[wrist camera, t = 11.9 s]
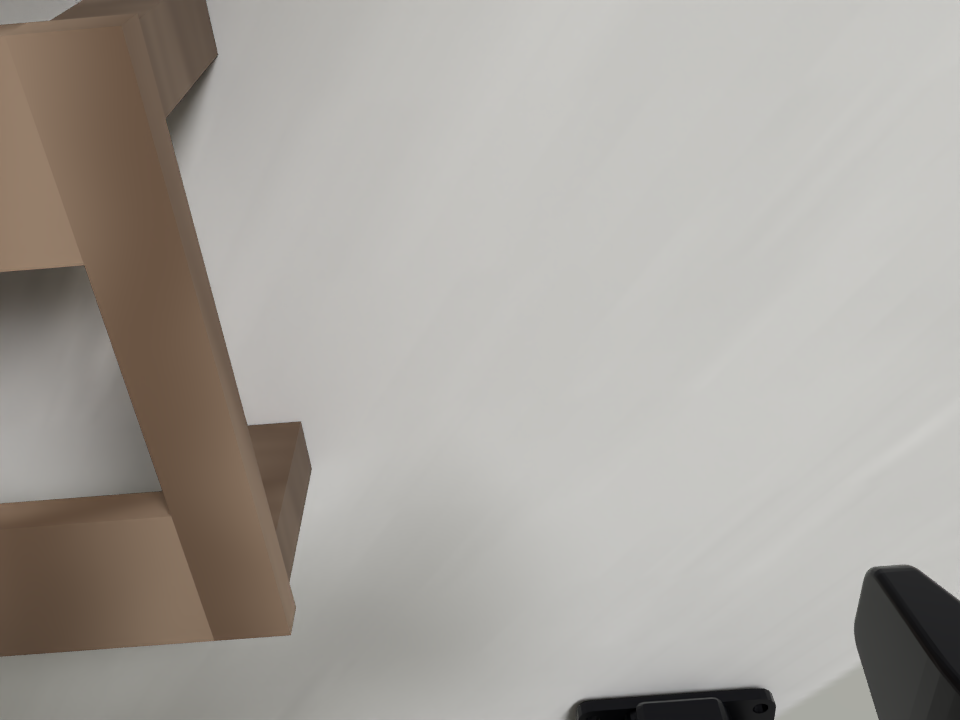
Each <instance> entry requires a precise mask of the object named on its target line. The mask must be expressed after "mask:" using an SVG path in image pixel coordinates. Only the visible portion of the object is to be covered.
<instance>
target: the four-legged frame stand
mask: <svg viewBox="0 0 960 720" xmlns="http://www.w3.org/2000/svg"><path fill="white" fill-rule="evenodd" d="M217 55H218V53H217V48H216V44H215V39H214V35H213V31H212V26H211V22H210V17H209V13H208V8H207V4H206V0H82V1H81V2H79V3H78V4H76V5H74V6H73V7H71V8H70V9H68V10H66V11H65V12H63V13H62V14H60V15H58V16H57V17H55V18H54V19H52V20H50V21H41V22H29V23H17V24H6V25H0V272H7V271H19V270H32V269H44V268H56V267H69V266H81V265H84V266H85V269H86V272H87V275H88V278H89V281H90V284H91V286H92V289H93V292H94V295H95V298H96V301H97V304H98V307H99V310H100V312H101V315H102V318H103V321H104V324H105V327H106V330H107V333H108V335H109V338H110V341H111V344H112V347H113V350H114V353H115V356H116V359H117V361H118V364H119V367H120V370H121V373H122V376H123V379H124V382H125V384H126V387H127V390H128V393H129V396H130V399H131V402H132V405H133V408H134V410H135V413H136V416H137V419H138V422H139V425H140V428H141V431H142V433H143V436H144V439H145V442H146V445H147V448H148V451H149V454H150V457H151V459H152V462H153V465H154V468H155V471H156V474H157V477H158V480H159V482H160V485H161V488H162V491H159V492H145V493H132V494H119V495H106V496H93V497H80V498H67V499H54V500H41V501H28V502H15V503H2V504H0V657H1V656H15V655H28V654H42V653H55V652H69V651H82V650H96V649H110V648H123V647H137V646H150V645H164V644H177V643H191V642H205V641H218V640H232V639H245V638H259V637H272V636H286V635H291V631H292V626H293V620H294V615H295V609H296V606H295V602H294V598H293V595H292V591H291V587H290V583H289V582H290V576H291V571H292V566H293V561H294V556H295V551H296V546H297V541H298V536H299V531H300V526H301V520H302V515H303V510H304V505H305V500H306V495H307V490H308V485H309V480H310V475H311V470H312V468H311V464H310V459H309V455H308V451H307V446H306V442H305V437H304V433H303V429H302V424H301V422H289V423H276V424H263V425H250V426H247V422H246V418H245V415H244V411H243V407H242V403H241V400H240V396H239V392H238V388H237V385H236V381H235V377H234V373H233V370H232V366H231V362H230V358H229V355H228V351H227V347H226V343H225V340H224V336H223V332H222V328H221V325H220V321H219V317H218V313H217V310H216V306H215V302H214V298H213V295H212V291H211V287H210V283H209V280H208V276H207V272H206V268H205V265H204V261H203V257H202V253H201V250H200V246H199V242H198V238H197V235H196V231H195V227H194V223H193V220H192V216H191V212H190V208H189V205H188V201H187V197H186V193H185V190H184V186H183V182H182V178H181V175H180V171H179V167H178V163H177V160H176V156H175V152H174V148H173V145H172V141H171V137H170V133H169V130H168V126H167V122H166V118H167V116H168V115H169V114H170V113H171V112H172V110H173V109H174V108H175V107H176V105H177V104H178V103H179V102H180V101H181V99H182V98H183V97H184V96H185V94H186V93H187V92H188V91H189V89H190V88H191V87H192V86H193V85H194V83H195V82H196V81H197V80H198V78H199V77H200V76H201V75H202V73H203V72H204V71H205V70H206V69H207V67H208V66H209V65H210V64H211V62H212V61H213V60H214V59H215V58H216V56H217Z"/></svg>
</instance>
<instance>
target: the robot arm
mask: <svg viewBox="0 0 960 720" xmlns="http://www.w3.org/2000/svg"><path fill="white" fill-rule="evenodd" d="M854 635H855V642H856V646H857V650H858V653H859V656H860V660H861V663H862V666H863V669H864V673H865V676H866V679H867V683H868V686H869V689H870V692H871V696H872V699H873V702H874V705H875V709H876V712H877V715H878V718H879V720H960V601H959V600H958V599H957V598H955V597H954V596H953V595H952V594H950V593H949V592H948V591H946V590H945V589H944V588H942V587H941V586H940V585H938V584H937V583H936V582H934V581H933V580H932V579H931V578H929V577H928V576H927V575H925V574H924V573H923V572H921V571H920V570H918V569H917V568H915V567H913V566H910V565H892V566H878V567H873V568H870V569H869V570H868V571H867V573H866V574H865V577H864V581H863V585H862V590H861V594H860V599H859V603H858V608H857V613H856V617H855V623H854ZM775 710H776V705H775V702H774V699H773V696H772V693H771V692H770V691H769V690H766V689H745V690H731V691H717V692H703V693H689V694H676V695H662V696H648V697H634V698H620V699H606V700H592V701H587V702H584V703H582V704H580V705H579V706H578V707H577V710H576V720H774V716H775Z"/></svg>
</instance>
